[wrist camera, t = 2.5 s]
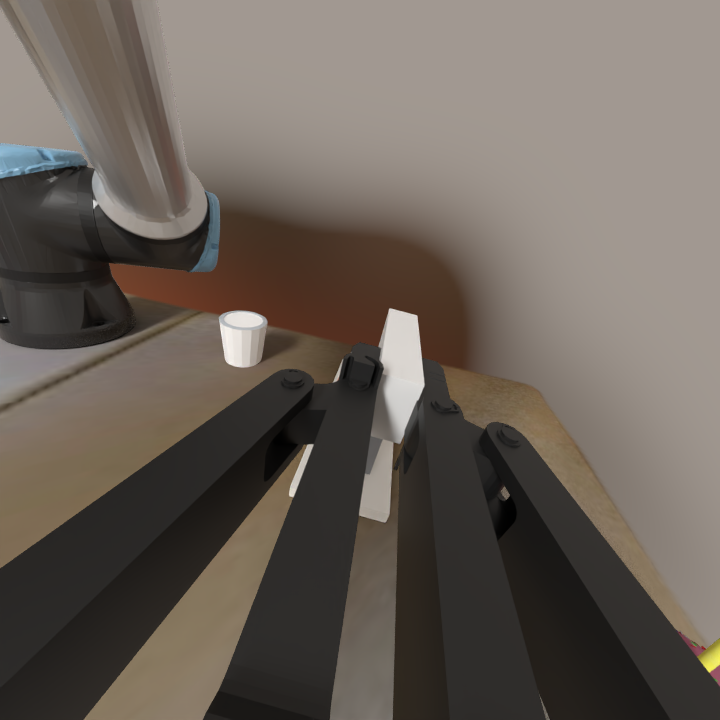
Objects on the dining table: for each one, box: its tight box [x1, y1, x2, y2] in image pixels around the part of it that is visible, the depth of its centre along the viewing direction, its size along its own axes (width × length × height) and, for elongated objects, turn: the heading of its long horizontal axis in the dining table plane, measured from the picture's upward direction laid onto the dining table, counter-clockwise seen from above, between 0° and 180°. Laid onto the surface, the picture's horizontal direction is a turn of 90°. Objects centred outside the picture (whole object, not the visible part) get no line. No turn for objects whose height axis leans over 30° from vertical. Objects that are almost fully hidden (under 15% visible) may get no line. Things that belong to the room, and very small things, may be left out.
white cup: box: [219, 311, 267, 367], centre depth 44 cm, size 7×7×7 cm
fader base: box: [289, 360, 393, 523], centre depth 39 cm, size 26×10×2 cm, turn 171°
